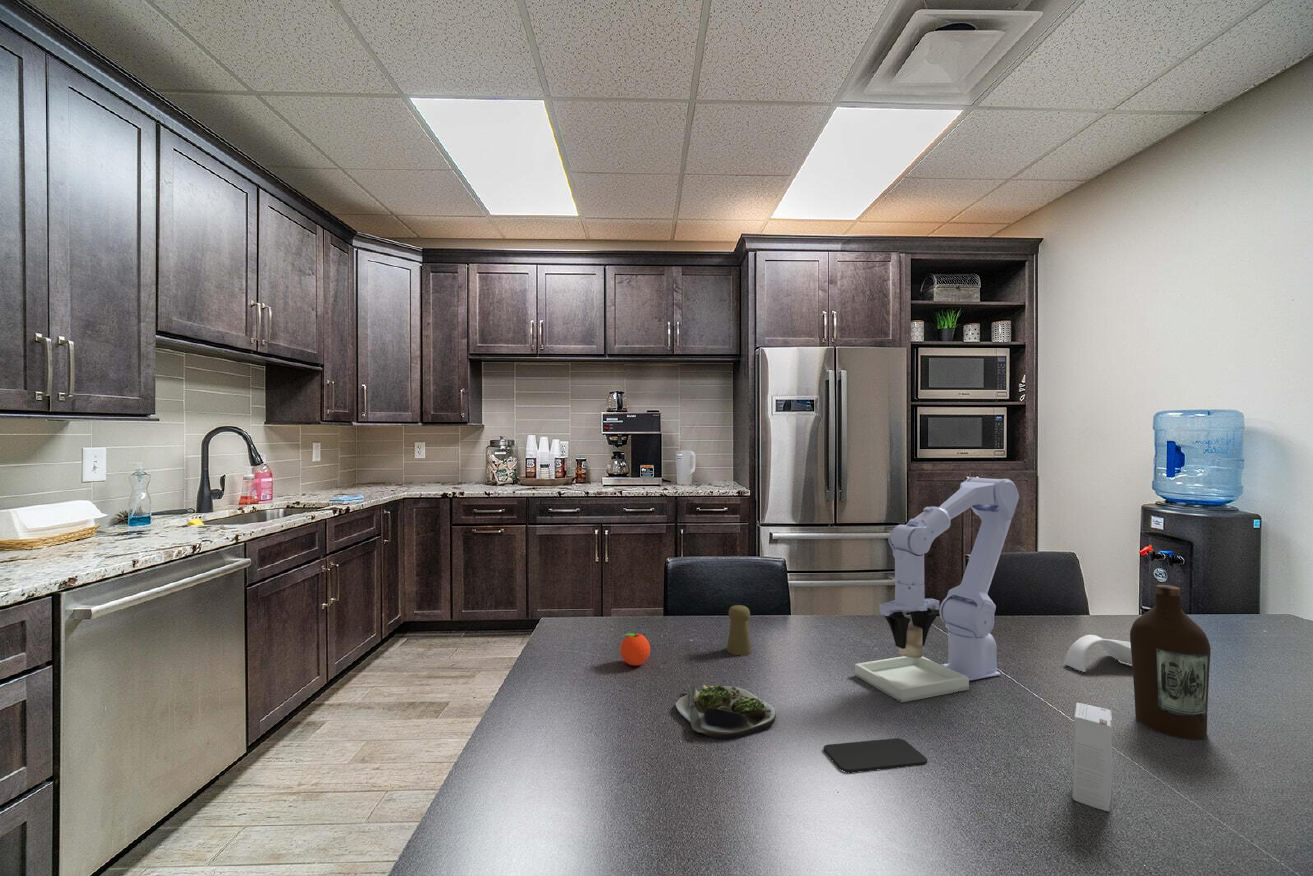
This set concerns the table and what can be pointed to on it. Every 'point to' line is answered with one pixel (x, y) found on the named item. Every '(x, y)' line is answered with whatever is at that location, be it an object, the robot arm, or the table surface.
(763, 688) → the table surface
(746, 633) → the cork
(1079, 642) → the white curved arch piece
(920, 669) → the tray
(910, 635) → the beige rounded cylinder
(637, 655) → the clementine
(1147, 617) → the brown liquor bottle
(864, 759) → the phone
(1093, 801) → the skincare box
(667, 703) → the table surface
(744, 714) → the salad plate
